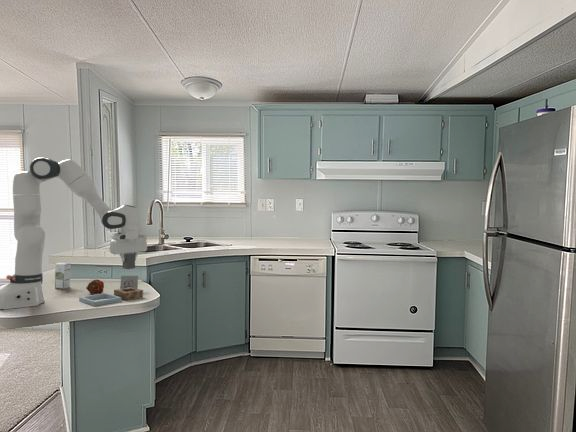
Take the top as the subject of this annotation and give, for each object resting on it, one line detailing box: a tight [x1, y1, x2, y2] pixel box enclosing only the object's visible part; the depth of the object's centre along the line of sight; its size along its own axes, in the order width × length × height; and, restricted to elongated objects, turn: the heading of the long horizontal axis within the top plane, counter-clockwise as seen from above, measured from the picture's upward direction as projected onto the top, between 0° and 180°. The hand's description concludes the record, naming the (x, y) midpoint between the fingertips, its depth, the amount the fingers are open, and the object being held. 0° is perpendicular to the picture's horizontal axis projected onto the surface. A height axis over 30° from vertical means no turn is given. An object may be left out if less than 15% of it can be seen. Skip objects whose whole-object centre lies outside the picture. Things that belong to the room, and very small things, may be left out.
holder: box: [113, 287, 144, 301], centre depth 218 cm, size 10×10×4 cm
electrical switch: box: [119, 275, 139, 289], centre depth 232 cm, size 9×5×9 cm, turn 102°
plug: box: [122, 252, 136, 270], centre depth 217 cm, size 4×4×8 cm
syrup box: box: [54, 261, 71, 290], centre depth 233 cm, size 6×6×14 cm
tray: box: [78, 292, 122, 307], centre depth 207 cm, size 14×14×2 cm
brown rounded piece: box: [85, 278, 105, 295], centre depth 223 cm, size 8×8×12 cm
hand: (128, 261), depth 217 cm, fingers closed on plug, 4 cm apart
